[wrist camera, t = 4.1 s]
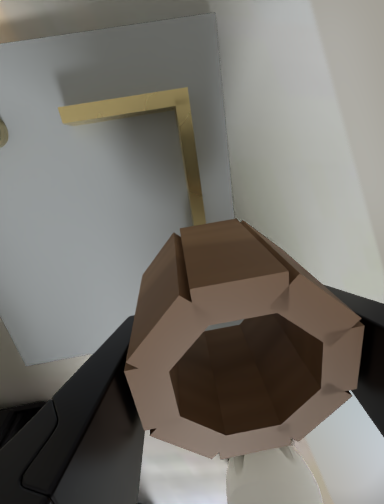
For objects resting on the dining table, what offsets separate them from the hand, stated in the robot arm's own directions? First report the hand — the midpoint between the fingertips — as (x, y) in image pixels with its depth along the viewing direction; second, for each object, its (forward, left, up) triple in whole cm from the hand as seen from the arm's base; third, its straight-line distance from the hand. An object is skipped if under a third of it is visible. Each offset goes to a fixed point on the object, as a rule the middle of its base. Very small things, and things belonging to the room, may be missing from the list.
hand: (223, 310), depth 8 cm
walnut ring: (0, 0, -1) cm, 1 cm away
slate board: (+2, +5, -7) cm, 9 cm away
